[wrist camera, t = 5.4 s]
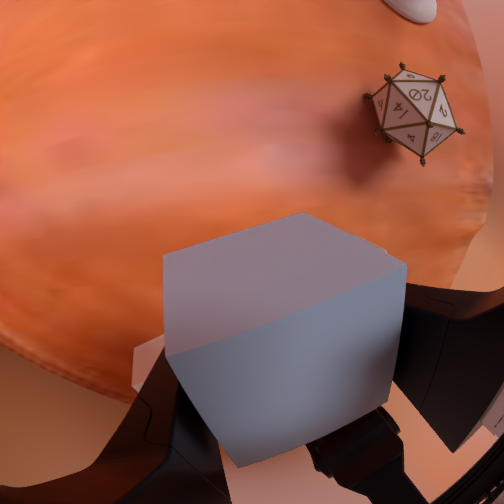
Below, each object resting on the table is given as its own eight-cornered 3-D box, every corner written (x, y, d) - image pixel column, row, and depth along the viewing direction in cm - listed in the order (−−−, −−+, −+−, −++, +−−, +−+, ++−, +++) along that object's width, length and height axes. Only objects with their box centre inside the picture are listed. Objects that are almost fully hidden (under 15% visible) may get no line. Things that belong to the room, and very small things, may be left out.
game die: (354, 128, 26) (363, 163, 18) (364, 52, 20) (382, 52, 13) (429, 149, 24) (463, 191, 17) (445, 78, 18) (491, 95, 11)
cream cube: (206, 361, 25) (216, 398, 21) (163, 380, 25) (166, 418, 20) (180, 325, 23) (186, 363, 19) (134, 347, 23) (131, 386, 18)
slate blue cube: (318, 323, 12) (387, 401, 7) (207, 364, 11) (238, 468, 6) (304, 211, 10) (406, 263, 5) (163, 255, 9) (165, 356, 4)
